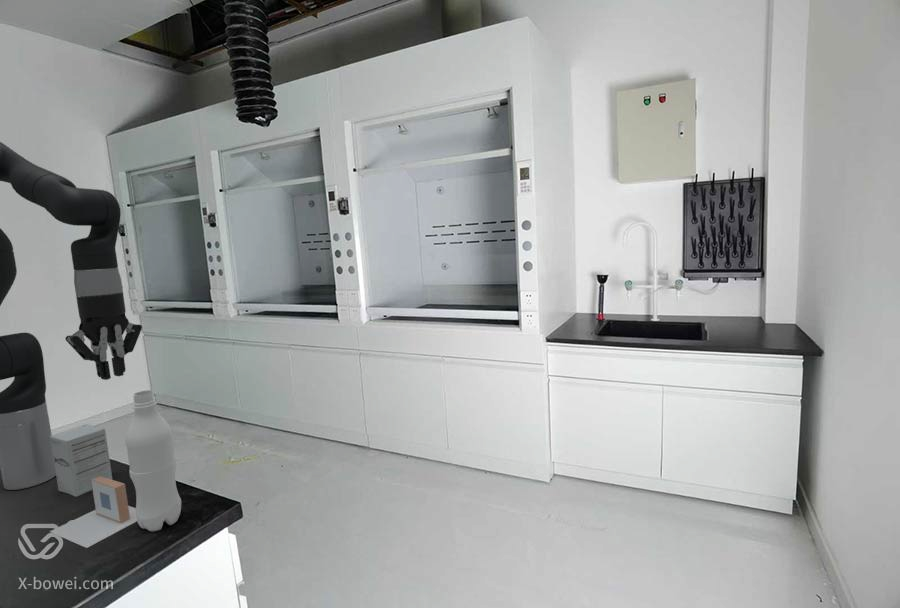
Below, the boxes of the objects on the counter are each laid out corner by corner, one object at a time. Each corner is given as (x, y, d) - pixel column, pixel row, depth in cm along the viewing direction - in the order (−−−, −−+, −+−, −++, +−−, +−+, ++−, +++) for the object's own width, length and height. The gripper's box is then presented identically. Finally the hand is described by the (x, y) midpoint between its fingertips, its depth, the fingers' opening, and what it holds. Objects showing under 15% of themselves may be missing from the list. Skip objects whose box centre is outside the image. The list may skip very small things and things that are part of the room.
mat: (49, 533, 87) (49, 531, 87) (114, 502, 96) (114, 500, 96) (87, 549, 81) (86, 547, 81) (151, 515, 91) (151, 513, 91)
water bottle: (157, 512, 92) (139, 386, 89) (191, 512, 91) (175, 386, 88) (128, 535, 85) (108, 399, 82) (165, 536, 84) (146, 399, 81)
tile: (95, 514, 92) (90, 480, 91) (105, 509, 93) (100, 476, 92) (120, 523, 88) (115, 488, 87) (130, 518, 90) (124, 483, 89)
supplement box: (57, 491, 102) (48, 435, 100) (96, 476, 108) (87, 422, 107) (75, 499, 99) (66, 441, 97) (114, 482, 105) (106, 427, 103)
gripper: (124, 288, 102) (135, 367, 104) (48, 296, 90) (62, 385, 92) (146, 288, 99) (157, 369, 101) (70, 296, 86) (84, 389, 89)
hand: (112, 377), depth 97 cm, fingers closed
